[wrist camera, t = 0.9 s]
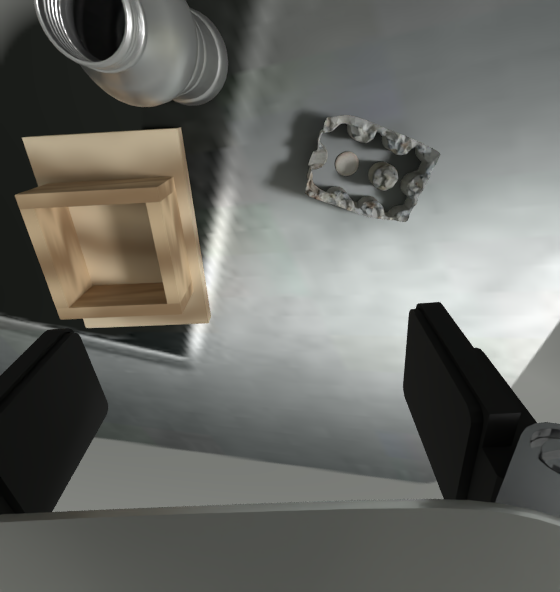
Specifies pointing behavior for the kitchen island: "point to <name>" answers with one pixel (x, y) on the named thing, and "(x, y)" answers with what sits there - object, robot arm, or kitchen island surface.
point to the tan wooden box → (116, 227)
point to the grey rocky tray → (373, 169)
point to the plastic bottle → (140, 48)
